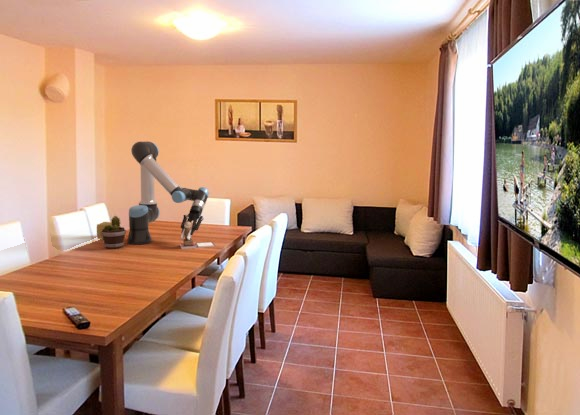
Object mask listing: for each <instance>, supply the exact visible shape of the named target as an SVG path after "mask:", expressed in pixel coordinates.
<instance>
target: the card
mask: <svg viewBox="0 0 580 415" xmlns="http://www.w3.org/2000/svg"><path fill="white" fill-rule="evenodd" d="M194 243H195V245H196V248H210V247H211V248H213V247H216V245H215V243H214V241H206V242H194Z"/></svg>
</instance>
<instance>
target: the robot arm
mask: <svg viewBox="0 0 580 415" xmlns="http://www.w3.org/2000/svg"><path fill="white" fill-rule="evenodd" d="M159 153H160V149H159V147H158V145H157V144H156V143H154V142H152V141H148V140H147V141H136V142H134V144H133V145H132V147H131V155H132V157H133V158H134V159H135V161H136V162H137V163H138V164H139V165H140V201H139V202H138V204H137V205H133V206H131V207H129V210H128V221H129V222H128V223H129V224H128V226H129V227H128V228H129V232H128V235H127V238H126V243H127V244H129V245H132V246H133V245H134V246H135V245H147V244H151V243H152V242H153V239H152V237H151V236H152V235H151V232H150V230H149V223H153V222H155V221H156V220H157V219H158V218H159V216H160V208H159V207H158V203H157V201H156V200H155V180H156V181H157V182H158V183H159V184H160V185H161V186H162V187H163V188H164V189H165V190H166V192H167V193H168V194H170V196H171V199H172V202H174V203H175V204H176V203H177V204H181V203H183V202H186V201H192V205H191V206H190V210H189V213H188V214H184V215H183V218H182V221H181V224H180V229H181V232H180V233H181V235H180V239H181V240H183V239H185V227H184V223H185V222H190V223H191V224H192V226H191V229H190V231H189V233H188V236H187V239H188V240H190V237H191V238H192V236H193V234H194V232H195V231H198V230H199V228H200V225H201V224H202V222H203V220H204V216H202V213H203V210H204V208H205V206H206V203H207V200H208V198H209V194H210V191H209V189H207V188H206V187H203V186H202V187H201V186H200V187H199V188H198V189H191V188H187V187H180V186H179V185H178V184H177V182H176V181H175V180H174V179H173V178H172V176H170V175H169V174H168V172H166V171H165V169H164V168H163V167H162V166H161V165H160V164H159V163H158V162H157V157H158V156H159Z"/></svg>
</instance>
